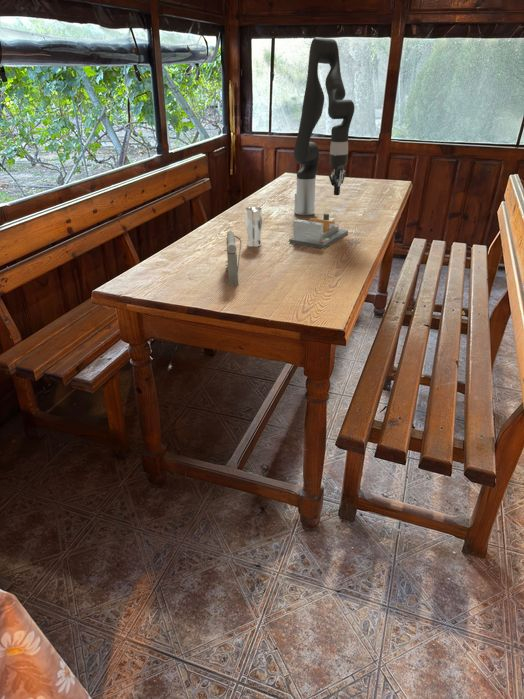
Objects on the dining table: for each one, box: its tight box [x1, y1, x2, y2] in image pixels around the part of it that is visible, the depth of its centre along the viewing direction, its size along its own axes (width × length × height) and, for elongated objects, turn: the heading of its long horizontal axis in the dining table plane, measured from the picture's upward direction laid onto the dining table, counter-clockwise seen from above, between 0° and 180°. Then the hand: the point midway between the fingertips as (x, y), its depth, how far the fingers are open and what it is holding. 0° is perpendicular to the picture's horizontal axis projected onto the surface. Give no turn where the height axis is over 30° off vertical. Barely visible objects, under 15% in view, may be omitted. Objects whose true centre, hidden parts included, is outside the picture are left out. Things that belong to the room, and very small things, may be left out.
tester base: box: [288, 225, 349, 249], centre depth 212 cm, size 16×24×4 cm, turn 148°
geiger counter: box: [223, 230, 242, 286], centre depth 171 cm, size 14×6×25 cm
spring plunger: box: [318, 213, 336, 230], centre depth 214 cm, size 6×6×7 cm
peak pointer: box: [309, 217, 336, 233], centre depth 212 cm, size 12×1×5 cm, turn 58°
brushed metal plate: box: [292, 219, 323, 244], centre depth 202 cm, size 12×3×8 cm, turn 58°
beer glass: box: [244, 206, 263, 248], centre depth 202 cm, size 7×7×15 cm
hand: (336, 195), depth 216 cm, fingers closed
